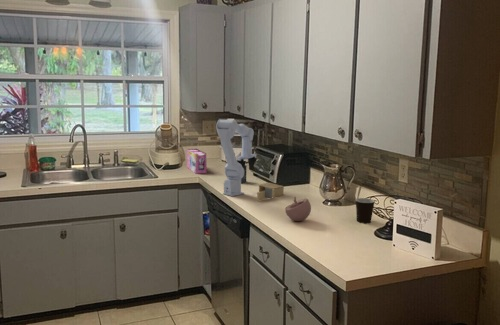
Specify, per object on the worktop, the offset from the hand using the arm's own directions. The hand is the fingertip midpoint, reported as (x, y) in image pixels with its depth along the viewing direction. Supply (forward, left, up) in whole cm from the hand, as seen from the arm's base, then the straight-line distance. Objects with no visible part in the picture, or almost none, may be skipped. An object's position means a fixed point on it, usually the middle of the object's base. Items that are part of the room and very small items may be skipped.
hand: (246, 171), depth 290 cm
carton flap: (-10, -28, -10) cm, 31 cm away
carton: (+1, -19, -10) cm, 22 cm away
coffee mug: (-2, -83, -11) cm, 84 cm away
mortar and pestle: (-26, -62, -11) cm, 68 cm away
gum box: (+10, +61, -11) cm, 63 cm away
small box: (+8, +17, -11) cm, 21 cm away
